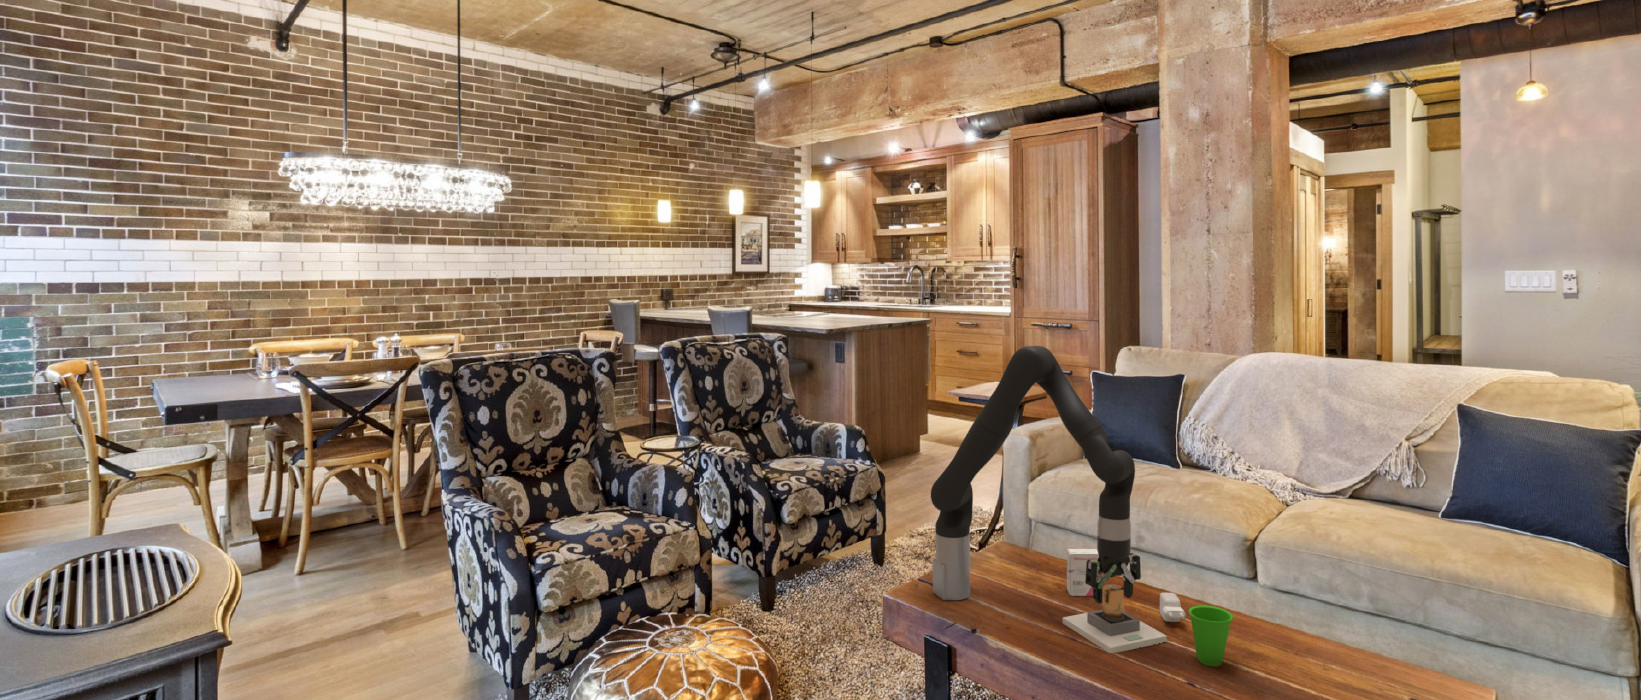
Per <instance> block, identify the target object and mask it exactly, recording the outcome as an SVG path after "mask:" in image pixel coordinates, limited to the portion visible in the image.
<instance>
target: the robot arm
mask: <svg viewBox="0 0 1641 700" xmlns="http://www.w3.org/2000/svg"><path fill="white" fill-rule="evenodd" d="M1035 384H1037V385H1038V386H1039V387H1040V388H1041V389H1042V390H1043V391H1044V392H1045V393H1046V394H1047V395H1048V396H1049V398H1050V399H1051V401H1052V403H1053V404H1054V406H1055V408H1056V411H1057V413H1058V415H1059V418H1060V419H1061V422H1062V424H1063V426H1064V427H1065V429H1066V430H1067V432H1068V433H1069V435H1071V437H1072V438H1073V439H1074V441H1075V442H1076V444H1078V445H1079V447H1080V448H1081V449H1082V452H1083V454H1084V456H1085V458H1086V460H1087V462H1088V465H1089V467H1090V469H1091V470H1092V471H1093V473H1094V475H1095V476H1096V477H1097V478H1098V479H1099V480H1100V481H1101V482H1103V483H1105V484H1104V489H1103V490H1102V491H1101V492H1100V494H1099V497H1098V519H1097V531H1096V532H1097V537H1096V538H1097V539H1096V540H1097V542H1096V543H1097V544H1096V545H1097V546H1096V549H1097V551H1098V554H1099V558H1098V560H1097V561H1091V560H1087V563H1086V579H1085V583H1086V584H1087V585H1089V586H1091V587H1093V596H1092V599H1093V600H1094V602H1095V603H1097V604H1103V586H1104V585H1105V583H1106V582H1108V581H1109V580H1110V578H1114V577H1116V576H1117V577H1120V576H1121V577H1122V579H1124V580H1123V586H1122V587H1123V588H1124V598H1127V599H1131V598H1132V597H1133V595H1134V584H1135V581H1137V580H1141V577H1142V572H1141V570H1142V569H1141V556H1140V555H1138V554H1135V553H1133V552H1131V542H1132V541H1131V539H1132V538H1131V534H1132V533H1131V529H1132V528H1131V527H1132V524H1131V516H1130V515H1131V494H1132V491H1133V486H1134V483H1135V477H1136V465H1135V461H1134V459H1133V457H1132V456H1131V454H1130V453H1129V452H1127V451H1125V450H1121V449H1118V450H1112V449H1111V447H1110V446H1109V443H1108V442H1107V440H1108V438H1109V436H1108V433H1107V431H1106V430H1105V428H1104V427H1103V426H1102V425H1101V424H1100V421H1098V420H1097V418H1096V417H1095V416H1094V415H1093V413H1092V412H1091V411H1090V409H1089V408H1088V407H1087V406H1086V404H1085V403H1084V402H1083V401H1082V399H1081V398H1080V396H1079V395H1078V394H1077V392H1076V391H1075V389H1074V388H1073V386H1072V385H1071V383H1070V381H1069V380H1068V378H1067V377H1066V375H1065V372H1064V371H1063V370H1062V367H1061V366H1060V364H1059V362H1058V361H1057V358H1056V357H1055V355H1054V354H1053V352H1052V351H1051V350H1050V349H1049V348H1047V347H1046V346H1042V345H1028V346H1023V347H1020V348H1019V349H1017V350H1015V352H1014V353H1013V354H1012V355H1011V358H1010V360H1009V362H1008V364H1007V366H1006V368H1005V371H1004V372H1003V375H1002V376H1001V379H1000V380H999V382H998V384H997V386H996V388H995V389H994V390H993V392H992V393H991V395H990V397H989V398H988V399H987V401H986V403H985V405H983V408H982V409H981V410H980V412H979V414H978V415H977V417H976V418H975V420H974V421H973V423H972V424H971V426H970V427H969V430H968V432H967V433H966V435H965V436H964V438H963V440H962V441H961V443H960V446H959V447H958V449H957V451H956V453H955V455H954V456H953V458H952V460H951V461H950V463H949V464H948V465H947V466H946V468H945V469H944V471H943V472H942V473H941V474H940V476H939V477H938V478H937V479H936V480H935V481H934V483H933V484H932V486H931V490H930V500H931V504H932V505H933V506H934V508H935V509H937V510H938V511H939V515H938V518H937V519H936V521H935V526H934V528H935V529H934V533H935V558H933V559H932V590H933V591H932V593H934V594H935V596H937V597H938V598H940V599H941V600H943V601H961V600H965V599H966V600H967V598H969V597H970V596H971V538H970V536H971V535H970V533H971V529H970V528H971V526H972V520H973V510H974V509H973V508H974V507H973V505H974V504H973V502H974V497H973V495H974V494H973V486H972V482H973V481H974V478H975V477H976V476H977V474H979V472H980V471H981V470H982V469H983V468H984V467H985V466H986V465H987V464H988V463H989V462H990V461H991V460H992V459H993V458H994V456H995V455H996V454H997V453H998V452H999V450H1000V449H1001V448H1002V446H1003V444H1004V443H1005V441H1006V440H1007V438H1008V437H1009V435H1010V433H1011V432H1012V430H1013V427H1014V426H1015V425H1014V424H1015V421H1016V417H1017V414H1018V410H1019V408H1020V404H1021V402H1022V401H1023V399H1024V398H1025V397H1026V395H1027V394H1028V392H1029V391H1030V389H1032V387H1033V386H1034V385H1035ZM1098 566H1099V568H1098ZM1128 566H1129V568H1128ZM1101 574H1102V575H1101ZM1103 574H1104V575H1103ZM1099 580H1100V581H1099ZM1098 581H1099V583H1098Z"/></svg>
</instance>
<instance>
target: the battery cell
mask: <svg viewBox="0 0 1641 700" xmlns="http://www.w3.org/2000/svg"><path fill="white" fill-rule="evenodd" d="M1102 589H1103V601H1102V610H1103V613H1102V619H1104V620H1105V621H1107V622H1109V623H1110V624H1113V623H1118V622H1123V621H1124V612H1125V610H1124V609H1125V608H1124V607H1125V605H1124V604H1125V602H1124V601H1125V600H1124V599H1125V596H1124V588H1123V586H1122V585H1120V584H1119V585H1118V584H1114V583H1113V584H1111V583H1108V584H1104V585H1103V587H1102Z"/></svg>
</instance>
